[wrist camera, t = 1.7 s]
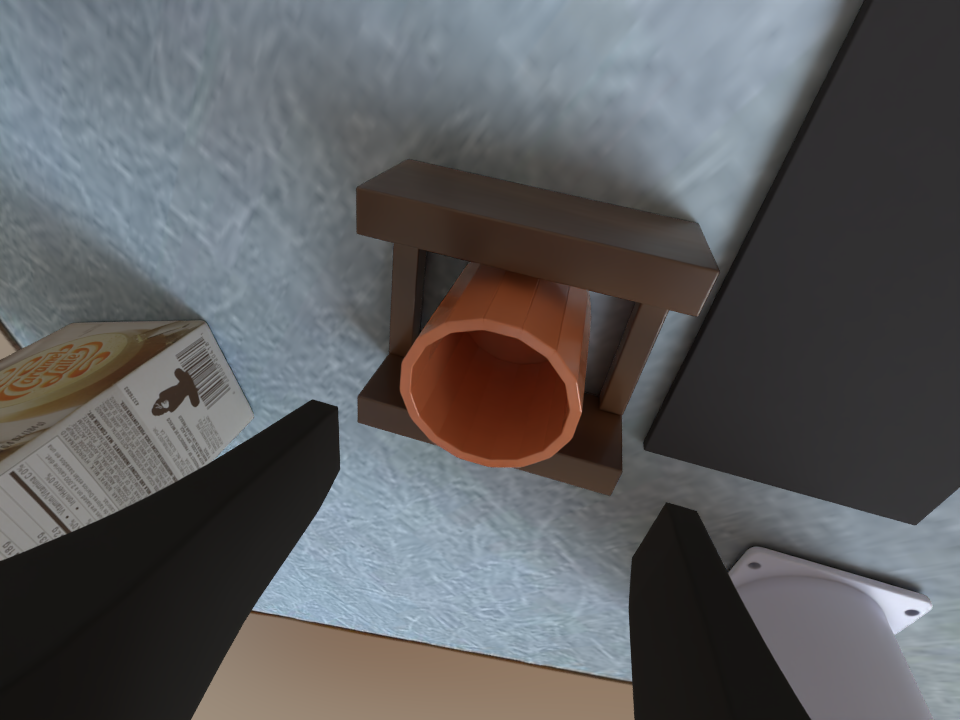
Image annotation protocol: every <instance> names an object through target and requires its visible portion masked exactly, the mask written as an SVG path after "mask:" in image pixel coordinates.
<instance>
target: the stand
mask: <svg viewBox="0 0 960 720" xmlns="http://www.w3.org/2000/svg"><path fill="white" fill-rule="evenodd" d="M356 223H357V234H359V235H363V236H368V237H372V238H376V239H380V240H384V241H388V242H392V243H394V246H393V270H392V293H391V317H390V340H389V355H388V356H387V357H386V359H385V360H384V361H383V363H382V364H381V365H380V367H379V368H378V369H377V371H376V372H375V373H374V375H373V376H372V377H371V379H370V380H369V382H368V383H367V384H366V386H365V387H364V388H363V390H362V391H361V392H360V394H359V395H358V423H361V424H365V425H368V426H371V427H375V428H378V429H382V430H385V431H389V432H392V433H395V434H399V435H402V436H406V437H409V438H413V439H416V440H420V441H423V442H426V443H430V444H433V445H436V444H435V443H433V442H432V441H431V440H429V438H428V437H427V436H426V435H425V434H424V433H423V432H422V430H421V429H420V428H419V427H418V426H417V425H416V424H415V423H414V421H413V420H412V419H411V417H410V416H409V413H408V411H407V408H406V406H405V403H404V400H403V398H402V395H401V393H400V377H401V363H402V361H403V359H404V357H405V356H406V354H407V353H408V351H409V350H410V348H411V346H412V345H413V343H414V342H415V340H416V339H417V337H418V336H419V334H420V323H421V311H422V300H423V288H424V277H425V265H426V254H427V251H429V252H433V253H437V254H441V255H445V256H450V257H454V258H458V259H462V260H466V261H470V262H474V263H478V264H482V265H486V266H491V267H495V268H499V269H503V270H507V271H511V272H515V273H519V274H523V275H528V276H532V277H536V278H540V279H544V280H548V281H552V282H556V283H560V284H564V285H569V286H573V287H577V288H581V289H585V290H589V291H593V292H597V293H601V294H605V295H610V296H614V297H618V298H622V299H626V300H630V301H634V302H635V305H634V307H633V310H632V313H631V315H630V318H629V320H628V323H627V325H626V328H625V331H624V333H623V336H622V338H621V341H620V343H619V346H618V349H617V351H616V354H615V356H614V359H613V361H612V364H611V367H610V369H609V372H608V374H607V377H606V379H605V382H604V385H603V387H602V390H601V392H600V395H599V396H596V395H593V394H589V393H585V392H584V397H583V407H582V414H581V417H580V419H579V422H578V425H577V427H576V430H575V433H574V436H573V438H572V439H571V440H570V441H569V442H568V443H567V444H566V445H565V446H563V447H562V448H561V449H560V450H559V451H558V452H557V453H556V454H554V455H553V456H552V457H550V458H549V459H546V460H543V461H540V462H537V463H534V464H531V465H528V466H525V467H512V468H516V469H519V470H523V471H526V472H529V473H533V474H536V475H540V476H543V477H547V478H550V479H553V480H557V481H560V482H564V483H567V484H571V485H574V486H577V487H581V488H584V489H588V490H591V491H595V492H598V493H601V494H605V495H608V496H610V495H611V494H612V492H613V490H614V488H615V486H616V484H617V482H618V480H619V478H620V476H621V474H622V415H623V413H624V411H625V409H626V407H627V404H628V402H629V400H630V398H631V395H632V393H633V391H634V389H635V386H636V384H637V382H638V380H639V377H640V375H641V373H642V370H643V368H644V366H645V364H646V361H647V359H648V357H649V355H650V352H651V350H652V348H653V346H654V343H655V341H656V339H657V337H658V334H659V332H660V330H661V328H662V325H663V323H664V321H665V318H666V316H667V314H668V312H669V310H671V311H675V312H679V313H683V314H687V315H692V316H696V317H697V316H699V314H700V312H701V310H702V308H703V306H704V304H705V302H706V300H707V298H708V296H709V294H710V292H711V290H712V288H713V286H714V283H715V281H716V279H717V277H718V275H719V273H720V270H719V268H718V266H717V264H716V261H715V259H714V257H713V255H712V252H711V250H710V248H709V246H708V244H707V241H706V239H705V237H704V235H703V232H702V230H701V228H700V226H699V224H698V223H694V222H690V221H685V220H681V219H676V218H672V217H667V216H663V215H658V214H654V213H649V212H645V211H640V210H636V209H631V208H627V207H622V206H618V205H613V204H609V203H604V202H600V201H595V200H591V199H586V198H582V197H577V196H573V195H568V194H564V193H559V192H555V191H550V190H546V189H541V188H536V187H532V186H527V185H523V184H518V183H514V182H509V181H505V180H500V179H496V178H491V177H487V176H482V175H478V174H473V173H469V172H464V171H460V170H455V169H451V168H446V167H442V166H437V165H433V164H428V163H424V162H419V161H415V160H410V159H407V160H405V161H403V162H402V163H400V164H398V165H396V166H394V167H392V168H391V169H389V170H387V171H385V172H383V173H381V174H380V175H378V176H376V177H374V178H372V179H370V180H369V181H367V182H365V183H363V184H361V185H359V186H358V187H357V188H356ZM437 446H438V445H437Z"/></svg>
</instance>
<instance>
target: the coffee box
mask: <svg viewBox="0 0 960 720" xmlns="http://www.w3.org/2000/svg"><path fill="white" fill-rule="evenodd" d="M253 418H254V413H253V411H252V409H251V407H250V405H249V403H248V401H247V400H246V398H245V396H244V394H243V392H242V390H241V388H240V386H239V384H238V382H237V380H236V378H235V377H234V375H233V373H232V371H231V369H230V367H229V365H228V363H227V362H226V360H225V358H224V356H223V354H222V352H221V350H220V348H219V346H218V344H217V342H216V340H215V338H214V336H213V334H212V332H211V331H210V329H209V327H208V325H207V323H206V322H205V321H199V320H190V321H132V322H86V323H71V324H69V325H67V326H65V327H63V328H61V329H59V330H58V331H56V332H54V333H52V334H50V335H48V336H46V337H44V338H42V339H40V340H39V341H37V342H35V343H33V344H31V345H29V346H27V347H25V348H23V349H21V350H19V351H17V352H15V353H13V354H11V355H9V356H8V357H6V358H3V359H1V360H0V561H1V560H4V559H7V558H9V557H12V556H14V555H17V554H20V553H22V552H25V551H27V550H29V549H32V548H34V547H36V546H39V545H41V544H44V543H46V542H48V541H51V540H53V539H56V538H58V537H60V536H63V535H65V534H68V533H70V532H72V531H75V530H77V529H80V528H82V527H84V526H86V525H89V524H91V523H93V522H96V521H98V520H100V519H102V518H104V517H107V516H109V515H111V514H113V513H115V512H117V511H119V510H121V509H123V508H125V507H128V506H130V505H132V504H134V503H136V502H138V501H140V500H142V499H144V498H146V497H148V496H150V495H152V494H154V493H155V492H157V491H159V490H161V489H163V488H165V487H167V486H169V485H171V484H172V483H174V482H176V481H178V480H180V479H181V478H183V477H185V476H187V475H189V474H190V473H192V472H194V471H196V470H198V469H200V468H201V467H203V466H205V465H207V464H208V463H210V462H212V461H213V460H214V459H215V458H216V457H217V456H218V455H219V454H220V453H221V452H222V451H223V450H224V449H225V448H226V447H227V445H228V444H229V443H230V442H231V441H232V440H233V439H234V438H235V437H236V436H237V435H238V434H239V433H240V432H241V431H242V430H243V429H244V428H245V427H246V426H247V425H248V424H249V423H250V421H251V420H252V419H253Z"/></svg>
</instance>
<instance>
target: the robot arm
mask: <svg viewBox="0 0 960 720" xmlns="http://www.w3.org/2000/svg"><path fill="white" fill-rule="evenodd" d="M339 470H340V451H339V422H338V407H337V406H333V405H330V404H326V403H323V402H320V401H316V400H311V401H309V402H307V403H306V404H304V405H302V406H301V407H299V408H298V409H296V410H294V411H293V412H291V413H290V414H288V415H287V416H285V417H283V418H282V419H280V420H279V421H277V422H276V423H274V424H272V425H271V426H269V427H268V428H266V429H265V430H263V431H261V432H260V433H258V434H257V435H255V436H253V437H252V438H250V439H249V440H247V441H245V442H244V443H242V444H240V445H239V446H237V447H235V448H234V449H232V450H230V451H229V452H227V453H225V454H224V455H222V456H220V457H219V458H217V459H215V460H214V461H212V462H210V463H208V464H207V465H205V466H203V467H201V468H200V469H198V470H196V471H194V472H192V473H190V474H189V475H187V476H185V477H183V478H181V479H180V480H178V481H176V482H174V483H172V484H171V485H169V486H167V487H165V488H163V489H161V490H159V491H157V492H155V493H154V494H152V495H150V496H148V497H146V498H144V499H142V500H140V501H138V502H136V503H134V504H132V505H130V506H128V507H125V508H123V509H121V510H119V511H117V512H115V513H113V514H111V515H109V516H107V517H104V518H102V519H100V520H98V521H96V522H93V523H91V524H89V525H86V526H84V527H82V528H80V529H77V530H75V531H72V532H70V533H68V534H65V535H63V536H60V537H58V538H56V539H53V540H51V541H48V542H46V543H44V544H41V545H39V546H36V547H34V548H32V549H29V550H27V551H25V552H22V553H20V554H17V555H14V556H12V557H9V558H7V559H4V560H1V561H0V720H191V718H192V717H193V715H194V713H195V711H196V709H197V707H198V705H199V703H200V702H201V700H202V698H203V696H204V694H205V692H206V690H207V688H208V687H209V685H210V683H211V681H212V679H213V677H214V675H215V674H216V672H217V670H218V668H219V666H220V664H221V663H222V661H223V659H224V657H225V655H226V653H227V652H228V650H229V648H230V646H231V645H232V643H233V641H234V639H235V638H236V636H237V634H238V632H239V630H240V629H241V627H242V625H243V623H244V621H245V620H246V618H247V617H248V615H249V614H250V612H251V610H252V609H253V607H254V606H255V604H256V602H257V601H258V599H259V598H260V596H261V595H262V593H263V592H264V590H265V589H266V588H267V586H268V585H269V583H270V582H271V580H272V579H273V577H274V576H275V574H276V573H277V571H278V570H279V568H280V567H281V566H282V564H283V563H284V561H285V560H286V558H287V557H288V555H289V554H290V552H291V551H292V549H293V548H294V546H295V545H296V543H297V542H298V541H299V539H300V538H301V536H302V535H303V533H304V532H305V530H306V529H307V527H308V526H309V524H310V523H311V521H312V520H313V518H314V517H315V515H316V514H317V512H318V511H319V509H320V507H321V505H322V503H323V501H324V500H325V498H326V496H327V494H328V492H329V490H330V488H331V486H332V484H333V482H334V480H335V478H336V476H337V474H338V472H339ZM932 608H933V605H932V603H931V601H930V599H929V598H928V597H927V596H926V595H923V594H920V593H917V592H914V591H910V590H907V589H903V588H900V587H896V586H893V585H890V584H886V583H883V582H879V581H876V580H873V579H869V578H866V577H862V576H859V575H856V574H852V573H849V572H845V571H842V570H838V569H835V568H832V567H828V566H825V565H821V564H818V563H815V562H811V561H808V560H804V559H801V558H797V557H794V556H791V555H787V554H784V553H780V552H777V551H774V550H770V549H767V548H763V547H752V548H750V549H748V550H747V551H746V552H745V553H744V555H743V556H742V557H741V558H740V559H739V560H738V562H737V563H736V564H735V565H734V566H733V568H732V569H731V570H730V571H729V572H727V570H726V568H725V566H724V564H723V562H722V560H721V558H720V556H719V554H718V552H717V550H716V548H715V546H714V544H713V542H712V540H711V538H710V536H709V534H708V532H707V530H706V528H705V526H704V524H703V522H702V520H701V518H700V516H699V514H698V513H697V511H695V510H691V509H688V508H684V507H681V506H678V505H674V504H671V503H667V502H666V504H665V505H664V507H663V508H662V510H661V512H660V513H659V515H658V517H657V518H656V520H655V521H654V523H653V525H652V526H651V528H650V530H649V531H648V533H647V535H646V536H645V538H644V539H643V541H642V543H641V544H640V546H639V548H638V549H637V551H636V552H635V554H634V556H633V557H632V565H631V578H630V594H629V625H630V645H631V664H632V682H633V700H634V718H635V720H934V719H933V717H932V715H931V712H930V710H929V708H928V706H927V704H926V702H925V700H924V697H923V695H922V693H921V691H920V689H919V687H918V685H917V682H916V680H915V678H914V676H913V674H912V672H911V670H910V667H909V665H908V663H907V661H906V659H905V657H904V655H903V652H902V650H901V648H900V646H899V644H898V642H897V640H896V637H895V634H897V633H898V632H900V631H901V630H903V629H904V628H906V627H907V626H908V625H910V624H911V623H913V622H914V621H916V620H917V619H918V618H920V617H921V616H923V615H924V614H926V613H927V612H928V611H930V610H931V609H932Z"/></svg>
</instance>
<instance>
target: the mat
mask: <svg viewBox="0 0 960 720" xmlns="http://www.w3.org/2000/svg"><path fill="white" fill-rule="evenodd" d="M643 444H644V450H646V451H649V452H653V453H657V454H660V455H664V456H667V457H671V458H675V459H678V460H682V461H685V462H689V463H692V464H696V465H700V466H703V467H707V468H710V469H714V470H718V471H721V472H725V473H728V474H732V475H736V476H739V477H743V478H746V479H750V480H754V481H757V482H761V483H764V484H768V485H772V486H775V487H779V488H782V489H786V490H790V491H793V492H797V493H800V494H804V495H808V496H811V497H815V498H818V499H822V500H825V501H829V502H833V503H836V504H840V505H843V506H847V507H851V508H854V509H858V510H861V511H865V512H869V513H872V514H876V515H879V516H883V517H887V518H890V519H894V520H897V521H901V522H905V523H908V524H912V525H917V524H918V523H919V522H920V521H921V520H923V519H924V518H925V517H926V516H927V515H928V514H929V513H931V512H932V511H933V510H934V509H935V508H936V507H937V506H939V505H940V504H941V503H942V502H943V501H944V500H946V499H947V498H948V497H949V496H950V495H951V494H952V493H954V492H955V491H956V490H957V489H958V488H959V487H960V0H865V1H864V3H863V5H862V7H861V9H860V11H859V13H858V15H857V17H856V19H855V21H854V23H853V25H852V27H851V29H850V31H849V33H848V35H847V37H846V39H845V41H844V43H843V45H842V47H841V49H840V51H839V53H838V55H837V57H836V59H835V61H834V63H833V65H832V67H831V69H830V71H829V73H828V75H827V77H826V79H825V81H824V83H823V85H822V87H821V89H820V91H819V93H818V94H817V96H816V98H815V100H814V102H813V104H812V106H811V108H810V110H809V112H808V114H807V116H806V118H805V120H804V122H803V124H802V126H801V128H800V130H799V132H798V134H797V136H796V138H795V140H794V142H793V144H792V146H791V148H790V150H789V152H788V154H787V156H786V158H785V160H784V162H783V164H782V166H781V168H780V170H779V172H778V174H777V176H776V178H775V180H774V182H773V184H772V186H771V188H770V190H769V192H768V194H767V196H766V198H765V200H764V202H763V204H762V206H761V208H760V210H759V212H758V214H757V216H756V218H755V220H754V222H753V224H752V226H751V228H750V230H749V232H748V234H747V236H746V238H745V240H744V242H743V244H742V246H741V248H740V250H739V252H738V254H737V256H736V258H735V260H734V262H733V264H732V266H731V268H730V270H729V272H728V274H727V276H726V278H725V280H724V282H723V284H722V286H721V288H720V290H719V292H718V294H717V296H716V298H715V300H714V302H713V304H712V306H711V308H710V310H709V312H708V314H707V316H706V318H705V320H704V322H703V324H702V326H701V328H700V330H699V332H698V334H697V336H696V338H695V340H694V342H693V344H692V346H691V348H690V350H689V352H688V354H687V356H686V358H685V360H684V362H683V364H682V366H681V368H680V370H679V372H678V374H677V376H676V378H675V380H674V382H673V384H672V386H671V388H670V390H669V392H668V394H667V396H666V398H665V400H664V402H663V404H662V406H661V408H660V410H659V412H658V414H657V416H656V418H655V420H654V422H653V424H652V426H651V428H650V430H649V432H648V434H647V436H646V438H645V440H644V442H643Z"/></svg>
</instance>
